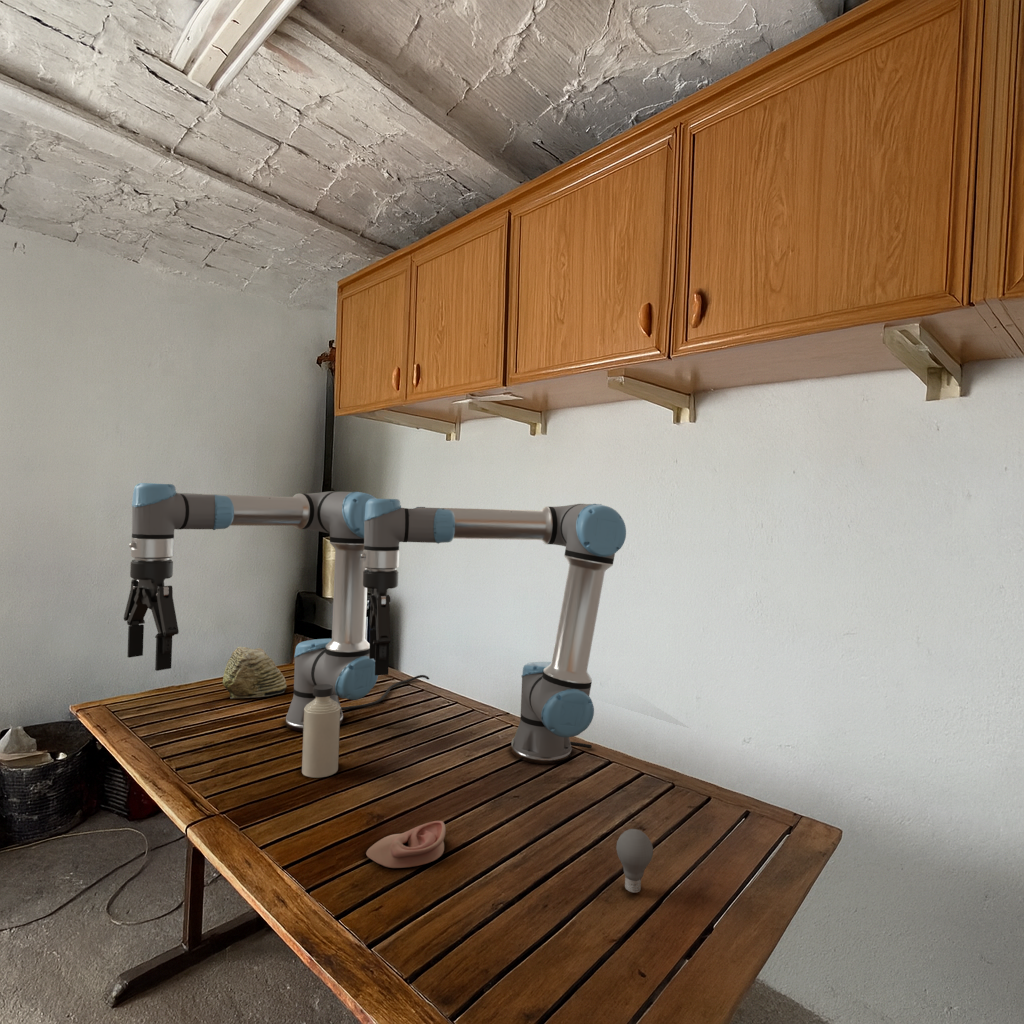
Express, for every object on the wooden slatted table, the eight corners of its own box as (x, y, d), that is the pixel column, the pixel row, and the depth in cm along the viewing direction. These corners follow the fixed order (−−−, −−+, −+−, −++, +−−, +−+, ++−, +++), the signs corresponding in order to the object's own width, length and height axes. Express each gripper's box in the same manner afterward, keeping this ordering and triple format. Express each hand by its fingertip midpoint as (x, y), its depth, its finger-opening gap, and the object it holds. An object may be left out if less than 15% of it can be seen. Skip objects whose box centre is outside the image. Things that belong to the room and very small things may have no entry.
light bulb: (610, 879, 108) (613, 822, 108) (644, 879, 109) (647, 822, 109) (619, 902, 102) (622, 840, 102) (655, 901, 103) (658, 840, 103)
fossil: (218, 695, 195) (220, 647, 195) (278, 685, 208) (279, 640, 207) (228, 703, 189) (230, 653, 188) (289, 692, 201) (290, 645, 201)
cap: (336, 693, 147) (337, 686, 147) (323, 698, 143) (323, 690, 143) (322, 690, 149) (323, 682, 149) (308, 694, 145) (309, 687, 145)
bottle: (345, 768, 148) (348, 687, 148) (320, 780, 141) (323, 696, 141) (319, 760, 152) (322, 681, 152) (293, 772, 145) (297, 689, 145)
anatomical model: (359, 840, 110) (385, 809, 121) (358, 862, 110) (384, 829, 121) (431, 852, 107) (451, 819, 119) (431, 875, 107) (451, 840, 119)
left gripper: (108, 554, 134) (104, 654, 134) (159, 565, 118) (155, 678, 119) (146, 552, 140) (143, 648, 140) (199, 563, 124) (195, 671, 124)
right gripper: (359, 563, 149) (357, 652, 149) (368, 576, 125) (365, 683, 125) (391, 563, 151) (389, 651, 151) (406, 576, 127) (403, 681, 128)
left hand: (148, 662), depth 129 cm, fingers open, 13 cm apart
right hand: (378, 666), depth 138 cm, fingers open, 13 cm apart
